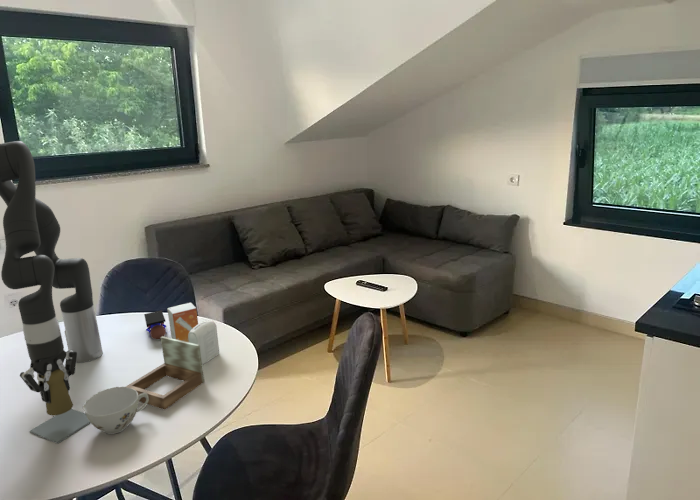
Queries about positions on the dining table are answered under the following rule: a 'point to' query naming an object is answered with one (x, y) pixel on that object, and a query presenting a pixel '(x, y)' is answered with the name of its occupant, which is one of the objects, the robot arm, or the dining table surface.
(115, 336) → the dining table surface
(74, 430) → the mat
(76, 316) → the robot arm
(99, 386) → the dining table surface
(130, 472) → the dining table surface
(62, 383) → the cork
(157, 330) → the figurine character
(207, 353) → the photo printer
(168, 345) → the cold frame
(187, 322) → the small box
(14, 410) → the dining table surface
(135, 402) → the teacup
